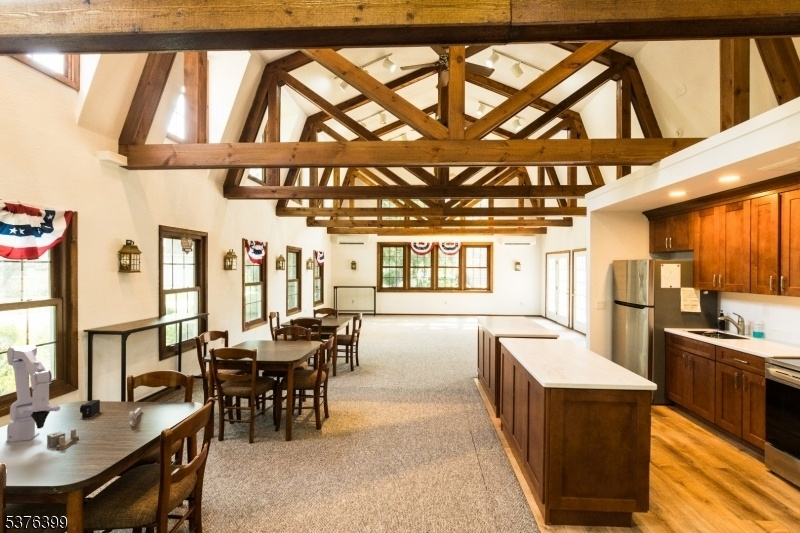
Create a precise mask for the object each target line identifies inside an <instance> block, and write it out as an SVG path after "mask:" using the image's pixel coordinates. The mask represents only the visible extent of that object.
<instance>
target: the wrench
mask: <svg viewBox="0 0 800 533" xmlns="http://www.w3.org/2000/svg"><path fill="white" fill-rule="evenodd" d="M141 413H142V407H137V409H135V410H133V411H132V410H131V411H129V413H128V419H129V426H131V427H134V426H135V422H136V419H137V418H138V417H139V416H140V414H141ZM133 425H134V426H133Z"/></svg>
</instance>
